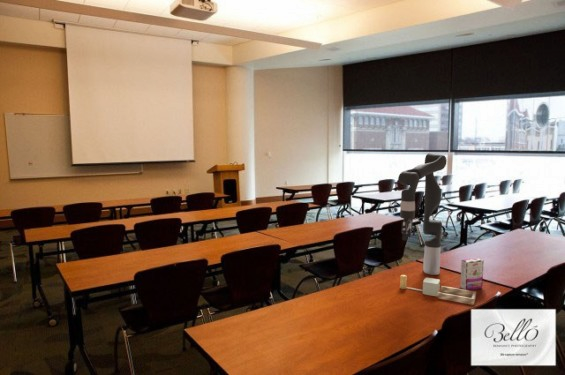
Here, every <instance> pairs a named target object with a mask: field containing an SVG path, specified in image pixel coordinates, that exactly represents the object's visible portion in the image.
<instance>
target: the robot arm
mask: <svg viewBox="0 0 565 375" xmlns="http://www.w3.org/2000/svg"><path fill="white" fill-rule="evenodd" d="M424 157H425V158H424V163H422V164H419V165H416V166H415V167H413V168H410V169H407V170H404V171H401V172H400V173H399V175H398V178H397V179H398V183H399V184H401V185H403V186H408V187H409V188H406V189H405V188H404V189H403V190H401V194H400V199H401V200H400V208H399V209H400V210H399V217H400V218H401V219H403V221H401V231H400V232H401V234H402V237H401V238H402V239H401V240H402V241H407V240H408V238H410V237H412V229H413V220H414V218H415V217H416V216H415V215H416V214H415V213H416V191H417V189H418V185H419V182H420V180H421V179H423V178H424V182H425V185H424V213H423V221H422V222H423V224H422V232H423V234H424V235H427V236H434V237H432V238H428V239H426V240H425V241H424V256H423V260H422V261H423V264H422V265H423V266H422V271H423V273H424V274H427V275H429V276H430V275H431V276H434V275H435V276H436V275H437V276H438V275H439V274H440V268H441V248H442V247H441V245H442V244H441V242H442V233H443V231H442V230H443V224H442V223H443V222H442V220H436V219H435V220H434V219H430V218H431V216H432V214H433V212H434V211H435V210H436V209H437V207H438V206H439V204H440V203H441V200H442V190H441V187H440V185H439V183H438V181H437V180H436V177H435V175H434V173H436V172H439V171H442V170H444V169H445V167H446V165H447V160H448V159H447V157H446V156H445V155H444V154H440V153H430V152H429V153H427V154H426V156H424Z"/></svg>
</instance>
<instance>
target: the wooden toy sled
mask: <svg viewBox="0 0 565 375" xmlns="http://www.w3.org/2000/svg"><path fill="white" fill-rule="evenodd" d="M440 286H441V287H440V291H439V292H438V296H437V299H440V300H445V301H450V302H456V303H461V304H465V305H466V304H467V305H471V306H472V305H473V306H475V302H476V298H477V291H476V290H464V289H462V288H457V287H451V286H446V285H440Z"/></svg>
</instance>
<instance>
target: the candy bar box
mask: <svg viewBox="0 0 565 375" xmlns="http://www.w3.org/2000/svg"><path fill="white" fill-rule="evenodd" d="M460 265H461V266H460V267H461V268H460V289H463V290H469V291H474V290H479V289H483V283H484V282H483V281H484V280H483V278H484V259H481V258H479V257H475V258H467V259H465V258H464V259H461V262H460Z"/></svg>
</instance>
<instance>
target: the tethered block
mask: <svg viewBox="0 0 565 375" xmlns="http://www.w3.org/2000/svg"><path fill="white" fill-rule="evenodd" d="M407 280H408V275H406V274H401V275H400V281H399V283H400V284H399V288H400V289H401V290H406V289H407V290H413V291H418V292H419V291H420V292H422V295H427V296H432V297H437V298H438V292H441V287H440V286H441V285H440V284H441V279H438V278H433V277H425V278H424V279H423V281H422V289H420V288H415V287H408V286H407Z"/></svg>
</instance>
